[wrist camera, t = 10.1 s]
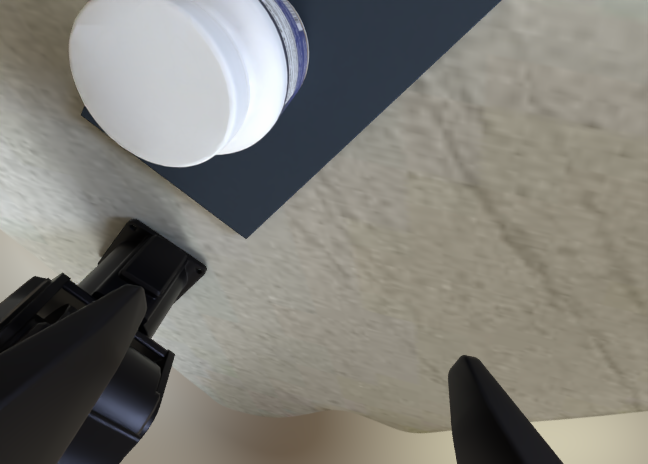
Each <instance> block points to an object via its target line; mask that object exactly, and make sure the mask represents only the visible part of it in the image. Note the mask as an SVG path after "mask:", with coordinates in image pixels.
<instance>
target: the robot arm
mask: <svg viewBox="0 0 648 464" xmlns="http://www.w3.org/2000/svg"><path fill="white" fill-rule="evenodd" d="M133 225H134V226H133ZM199 269H200V270H199ZM206 270H207V268H206V266H205V265H204V264H202V263H201V262H199V261H198V260H196V259H195V258H193V257H192V256H191V255H189V254H188V253H186V252H185V251H183V250H182V249H180V248H179V247H177V246H176V245H174V244H173V243H171V242H170V241H168V240H167V239H165V238H164V237H162V236H161V235H159V234H158V233H157V232H155V231H154V230H152V229H151V228H149V227H148V226H146V225H145V224H143V223H142V222H140V221H139V220H137V219H131V220H130V221H129V222H128V223H126V225H125V226H124V228H123V229H122V230H121V232H120V233H119V235H118V236H117V237H116V239H115V240H114V242H113V243H112V244H111V246H110V247H109V249H108V250H107V251H106V253H105V254H104V256H103V257H102V258H101V260H100V261H99V262H98V266H97V267H96V268H95V269H94V270H93V271H92V272H91V273H90V274H89V275H88V276H86V277H85V278H84V279H83V280H82V281H81V282H80V283H79V284H78V285H76V284H75V283H73V282H72V281H70V279H71V278H69V277H68V276H67V275H65V274H64V273H61V274H60V275H58V276H57V277H55V278H54V279H52V280H50V279H49V278H47V279H46V278H40V277H36V276H34V277H32V278H31V279H30V280H28V281H27V282H26V283H25V284H23V285H22V286H21V287H20V288H19V289H17V290H16V291H15V292H14V293H12V294H11V295H10V296H9V297H7V298H6V299H5V300H4V301H3V302H1V303H0V464H119V463H120V462H121V461H122V460H123V458H124V457H125V456H126V455H127V454H128V453H129V451H131V450H132V448H133V447H134V446H135V445H136V444H137V443H138V442H139V440H140V439H141V438H142V437H143V435H144V434H145V433H146V432H147V430H148V429H149V427H150V425H151V424H152V422H153V421H154V419H155V417H156V415H157V413H158V410H159V407H160V404H161V401H162V397H163V394H164V390H165V387H166V384H167V380H168V377H169V373H170V370H171V367H172V363H173V360H174V356H175V354H174V353H173V352H171V351H170V350H166V349H165V348H163V347H162V346H161V345H159V344H158V343H156V342H155V341H154V340H152V339H151V338H152V336H153V335H154V333H155V332H156V330H157V329H158V327H159V325H160V324H161V322H162V321H163V319H164V318H165V316H166V314H167V313H168V311H169V310H170V308H171V306H172V305H173V304H174V303H175V302H176V301H177V300H178V299H179V298H180V297H181V296H182V295H183V294H184V293H185V292H186V291H187V290H188V289H189V288H191V287H192V286H193V285H194V284H195V283H196V282H197V281H198V280H199V279H200V278H201V277H202V276H203V275H204V274H205V272H206ZM448 384H449V398H450V413H451V426H452V435H453V442H454V448H455V453H456V460H457V464H563V462H562V461H561V460H560V459H559V458H558V456H557V455H556V454H555V453H554V451H553V450H552V449H551V448H550V446H549V445H548V444H547V443H546V442H545V440H544V439H543V438H542V437H541V436H540V434H539V433H538V432H537V430H536V429H535V428H534V427H533V425H532V424H531V423H530V422H529V420H528V419H527V418H526V417H525V416H524V414H523V413H522V412H521V411H520V409H519V408H518V407H517V406H516V404H515V403H514V402H513V401H512V399H511V398H510V397H509V396H508V395H507V393H506V392H505V391H504V390H503V388H502V387H501V386H500V385H499V383H498V382H497V381H496V380H495V378H494V377H493V376H492V375H491V374H490V372H489V371H488V370H487V369H486V367H485V366H484V365H483V364H482V362H481V361H480V360H479V359H478V358H476V357H472V356H467V355H462V356H461V357H460V358H459V359H458V360H457V361H456V363H455V364H454V365H453V366H452V368H451V369H450V371H449V374H448Z"/></svg>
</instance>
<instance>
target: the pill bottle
mask: <svg viewBox="0 0 648 464" xmlns="http://www.w3.org/2000/svg"><path fill="white" fill-rule="evenodd" d="M69 61H70V68H71V72H72V76H73V79H74V83H75V85H76V88H77V90H78V92H79V95H80V97H81V99H82V101H83V103H84V105H85V106H86V108H87V109H88V111H89V112H90V114H91V115H92V117H93V118H94V120H95V121H96V122H97V123H98V125H99V126H100V127H101V128H102V129H103V130H104V131H105V132H106V133H107V134H108V135H109V137H111V138H112V139H113V140H114V141H115V142H117V143H118V144H119V145H120V146H122V147H123V148H125V149H126V150H128V151H129V152H131V153H132V154H134V155H136V156H138V157H140V158H142V159H144V160H146V161H149V162H151V163H155V164H158V165H162V166H168V167H188V166H193V165H197V164H200V163H203V162H205V161H207V160H209V159H210V158H212V157H213V156H215V155H223V154H230V153H234V152H238V151H241V150H244V149H246V148H248V147H250V146H252V145H253V144H255V143H256V142H258V141H259V140H260V139H261V138H263V137H264V136H265V135H266V134H267V133H268V132H269V131H270V129H271V128H272V127H273V126H274V124H275V123H276V121H277V120H278V119H279V117H280V116H281V114H282V113H283V111H284V110H285V109H286V107H287V106H288V104H289V103H290V102H291V100H292V99H293V98H294V96H295V95H296V93H297V92H298V90H299V89H300V87H301V85H302V83H303V81H304V79H305V76H306V73H307V69H308V63H309V46H308V39H307V35H306V31H305V28H304V25H303V23H302V21H301V19H300V17H299V15H298V13H297V12H296V10H295V9H294V7H293V6H292V5H291V4H290V3H289V1H288V0H90V1H89V2H88V3H86V4H85V5H84V7H83V8H82V9H81V11H80V12H79V14H78V15H77V17H76V19H75V21H74V23H73V26H72V30H71V34H70V38H69Z"/></svg>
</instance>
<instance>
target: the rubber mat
mask: <svg viewBox="0 0 648 464" xmlns="http://www.w3.org/2000/svg"><path fill="white" fill-rule="evenodd" d="M288 1H289V3H290V4H291V5H292V6H293V7H294V9H295V10H296V12H297V13H298V15H299V17H300V19H301V21H302V23H303V25H304V28H305V31H306V35H307V39H308V46H309V63H308V69H307V73H306V76H305V79H304V81H303V83H302V85H301V87H300V89H299V90H298V92H297V93H296V95H295V96H294V98H293V99H292V100H291V102H290V103H289V104H288V106H287V107H286V109H285V110H284V111H283V113H282V114H281V116H280V117H279V119H278V120H277V121H276V123H275V124H274V126H273V127H272V128H271V129H270V131H269V132H268V133H267V134H266V135H265V136H264V137H263V138H261V139H260V140H259V141H258V142H256V143H255V144H253V145H252V146H250V147H248V148H246V149H244V150H241V151H238V152H234V153H230V154H223V155H215V156H213V157H212V158H210V159H209V160H207V161H205V162H203V163H200V164H197V165H193V166H188V167H168V166H162V165H158V164H155V163H151V162H149V161H146V160H144V159H142V158H140V157H138V156H136V155H135V156H136V157H137V158H139V159H140V160H141V161H143V162H144V163H145V164H147V165H148V166H149V167H151V168H152V169H153V170H155V171H156V172H157V173H159V174H160V175H161V176H163V177H164V178H165V179H167V180H168V181H169V182H171V183H172V184H173V185H175V186H176V187H177V188H179V189H180V190H181V191H183V192H184V193H185V194H187V195H188V196H189V197H191V198H192V199H193V200H195V201H196V202H197V203H199V204H200V205H201V206H203V207H204V208H205V209H207V210H208V211H209V212H211V213H212V214H213V215H215V216H216V217H217V218H219V219H220V220H221V221H223V222H224V223H225V224H227V225H228V226H229V227H231V228H232V229H233V230H235V231H236V232H237V233H239V234H240V235H241V236H243V237H244V238H245V239H247V238H248V237H249V236H250V235H251V234H252V233H253V232H254V231H255V230H256V229H257V228H258V227H260V226H261V225H262V224H263V223H264V222H265V221H266V220H267V219H268V218H269V217H270V216H271V215H272V214H273V213H275V212H276V211H277V210H278V209H279V208H280V207H281V206H282V205H283V204H284V203H285V202H286V201H287V200H288V199H289V198H291V197H292V196H293V195H294V194H295V193H296V192H297V191H298V190H299V189H300V188H301V187H302V186H303V185H304V184H306V183H307V182H308V181H309V180H310V179H311V178H312V177H313V176H314V175H315V174H316V173H317V172H318V171H319V170H320V169H322V168H323V167H324V166H325V165H326V164H327V163H328V162H329V161H330V160H331V159H332V158H333V157H334V156H335V155H337V154H338V153H339V152H340V151H341V150H342V149H343V148H344V147H345V146H346V145H347V144H348V143H349V142H350V141H352V140H353V139H354V138H355V137H356V136H357V135H358V134H359V133H360V132H361V131H362V130H363V129H364V128H365V127H366V126H368V125H369V124H370V123H371V122H372V121H373V120H374V119H375V118H376V117H377V116H378V115H379V114H380V113H381V112H383V111H384V110H385V109H386V108H387V107H388V106H389V105H390V104H391V103H392V102H393V101H394V100H395V99H396V98H397V97H399V96H400V95H401V94H402V93H403V92H404V91H405V90H406V89H407V88H408V87H409V86H410V85H411V84H412V83H414V82H415V81H416V80H417V79H418V78H419V77H420V76H421V75H422V74H423V73H424V72H425V71H426V70H427V69H429V68H430V67H431V66H432V65H433V64H434V63H435V62H436V61H437V60H438V59H439V58H440V57H441V56H442V55H443V54H445V53H446V52H447V51H448V50H449V49H450V48H451V47H452V46H453V45H454V44H455V43H456V42H457V41H458V40H460V39H461V38H462V37H463V36H464V35H465V34H466V33H467V32H468V31H469V30H470V29H471V28H472V27H473V26H475V25H476V24H477V23H478V22H479V21H480V20H481V19H482V18H483V17H484V16H485V15H486V14H487V13H488V12H489V11H491V10H492V9H493V8H494V7H495V6H496V5H497V4H498V3H499V2H500V1H501V0H288ZM81 116H83V117H84V118H85V119H87V120H88V121H89V122H91V123H92V124H93V125H95V126H96V127H97V128H99V129H100V130H101V131H103V132H104V133H105V134H107V133H106V132H105V131H104V130H103V129H102V128H101V127H100V126H99V125H98V123H97V122H96V121H95V120H94V118H93V117H92V115H91V114H90V112H89V111H88V109H87V108H86V106H85V107H84V109H83V111H82V113H81ZM107 135H108V134H107ZM108 136H109V135H108ZM133 155H134V154H133Z"/></svg>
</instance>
